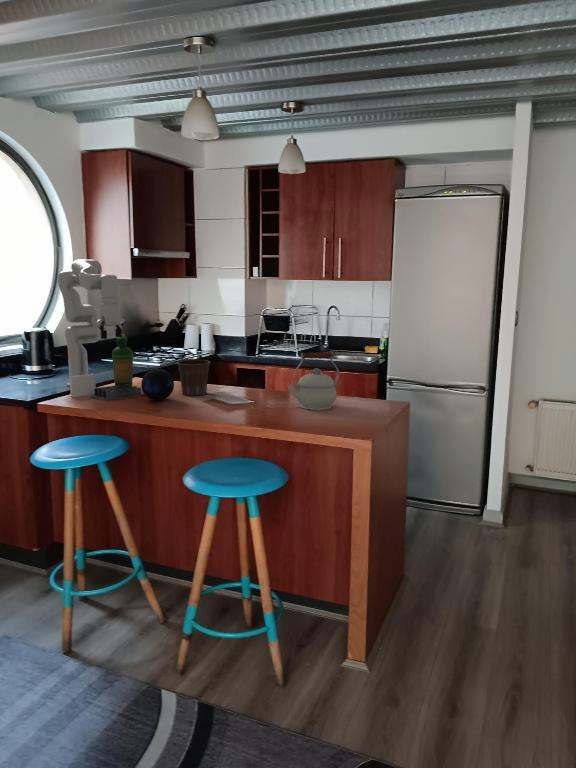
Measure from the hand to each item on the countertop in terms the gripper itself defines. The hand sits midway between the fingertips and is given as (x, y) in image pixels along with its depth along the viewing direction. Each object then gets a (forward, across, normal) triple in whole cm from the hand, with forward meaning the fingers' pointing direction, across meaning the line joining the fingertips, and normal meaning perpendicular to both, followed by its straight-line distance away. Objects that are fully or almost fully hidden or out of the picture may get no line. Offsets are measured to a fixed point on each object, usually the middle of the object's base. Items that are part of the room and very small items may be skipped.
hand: (111, 337), depth 296 cm
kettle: (+29, -28, +93) cm, 101 cm away
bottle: (+29, -20, -12) cm, 37 cm away
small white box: (+29, +4, -16) cm, 33 cm away
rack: (+29, -4, -1) cm, 29 cm away
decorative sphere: (+29, -5, +23) cm, 37 cm away
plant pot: (+29, -26, +28) cm, 48 cm away
